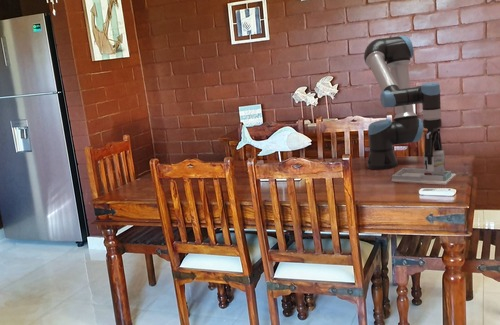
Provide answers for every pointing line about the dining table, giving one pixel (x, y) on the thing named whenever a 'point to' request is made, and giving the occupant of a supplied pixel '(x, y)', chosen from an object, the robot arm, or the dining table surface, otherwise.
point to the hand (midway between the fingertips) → (434, 168)
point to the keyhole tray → (420, 176)
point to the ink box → (436, 164)
